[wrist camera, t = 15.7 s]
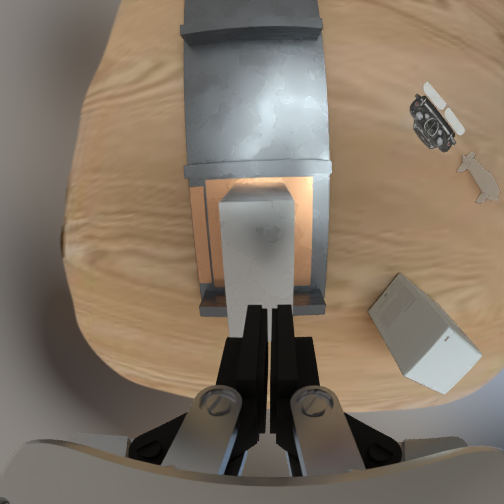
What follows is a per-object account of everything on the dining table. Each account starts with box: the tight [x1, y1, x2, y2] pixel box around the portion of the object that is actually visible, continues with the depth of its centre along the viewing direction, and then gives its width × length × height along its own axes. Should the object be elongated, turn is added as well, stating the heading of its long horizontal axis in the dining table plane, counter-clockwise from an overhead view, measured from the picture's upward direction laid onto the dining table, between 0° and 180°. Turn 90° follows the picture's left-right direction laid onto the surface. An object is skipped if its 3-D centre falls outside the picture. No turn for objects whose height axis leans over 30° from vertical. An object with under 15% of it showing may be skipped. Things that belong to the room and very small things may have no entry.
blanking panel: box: [219, 182, 295, 341], centre depth 21 cm, size 4×9×9 cm, turn 2°
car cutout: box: [410, 81, 500, 203], centre depth 20 cm, size 15×7×4 cm, turn 51°
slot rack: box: [180, 0, 332, 317], centre depth 20 cm, size 12×37×4 cm, turn 2°
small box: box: [368, 273, 482, 395], centre depth 23 cm, size 8×6×10 cm
